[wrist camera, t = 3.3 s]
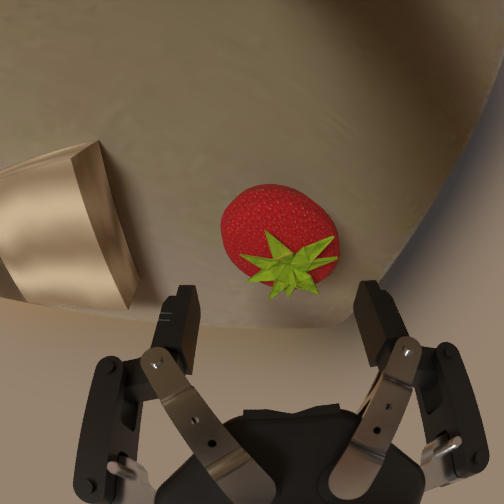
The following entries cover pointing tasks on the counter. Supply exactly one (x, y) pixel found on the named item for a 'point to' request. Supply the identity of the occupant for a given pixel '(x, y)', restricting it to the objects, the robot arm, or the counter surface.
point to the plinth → (65, 231)
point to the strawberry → (280, 238)
